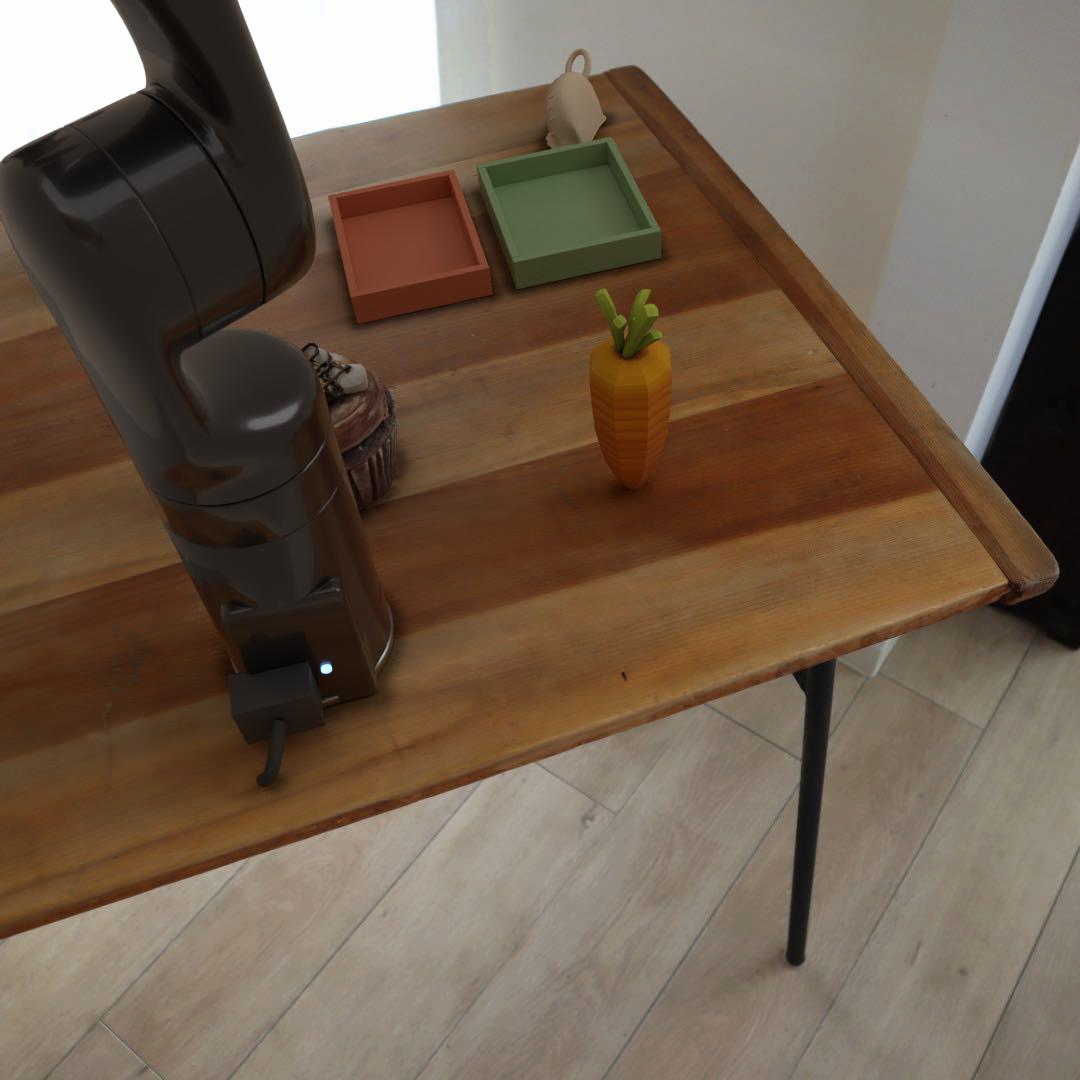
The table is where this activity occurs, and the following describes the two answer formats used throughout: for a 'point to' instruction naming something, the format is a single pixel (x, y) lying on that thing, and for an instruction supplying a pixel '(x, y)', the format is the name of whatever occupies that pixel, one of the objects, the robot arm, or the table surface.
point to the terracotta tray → (409, 246)
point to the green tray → (568, 212)
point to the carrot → (631, 391)
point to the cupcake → (359, 421)
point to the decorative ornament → (572, 106)
